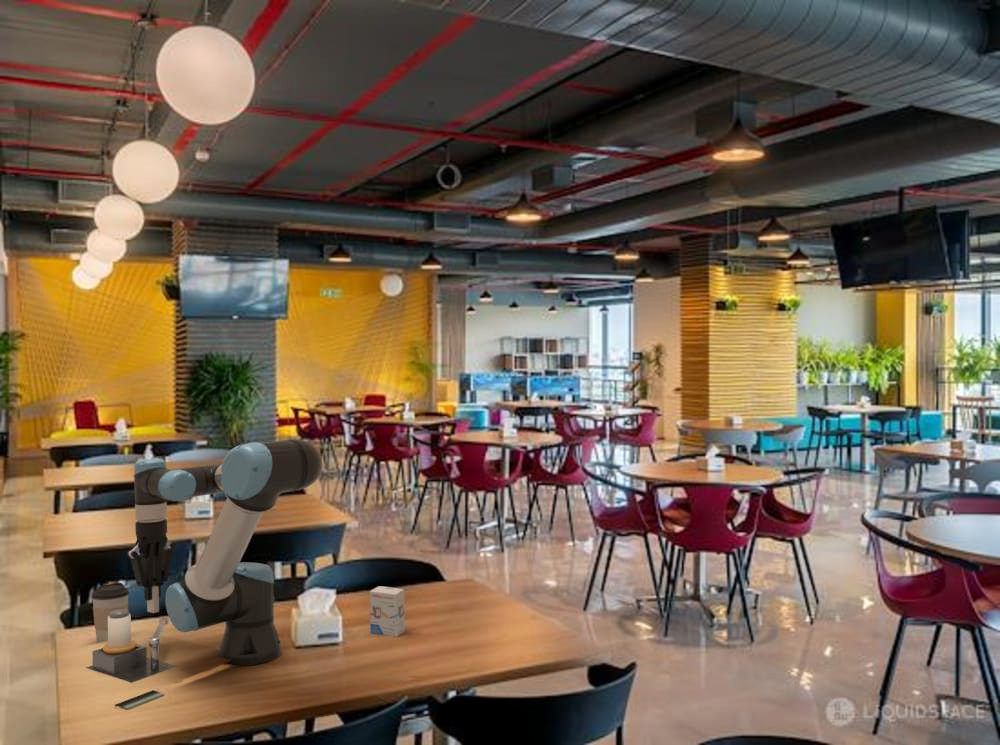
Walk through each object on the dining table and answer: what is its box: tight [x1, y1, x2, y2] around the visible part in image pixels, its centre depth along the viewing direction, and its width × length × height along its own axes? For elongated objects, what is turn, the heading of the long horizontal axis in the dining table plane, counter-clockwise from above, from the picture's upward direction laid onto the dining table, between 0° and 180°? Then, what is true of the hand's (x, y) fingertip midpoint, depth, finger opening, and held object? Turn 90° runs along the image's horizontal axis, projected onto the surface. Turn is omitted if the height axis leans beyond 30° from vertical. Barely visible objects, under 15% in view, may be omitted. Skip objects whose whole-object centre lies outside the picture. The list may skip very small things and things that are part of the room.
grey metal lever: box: [148, 617, 170, 647], centre depth 207 cm, size 18×2×2 cm, turn 14°
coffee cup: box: [91, 581, 130, 644], centre depth 223 cm, size 9×9×15 cm
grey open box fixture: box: [85, 643, 178, 684], centre depth 200 cm, size 18×12×7 cm, turn 58°
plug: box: [102, 609, 137, 656], centre depth 201 cm, size 7×7×13 cm
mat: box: [114, 689, 165, 710], centre depth 185 cm, size 9×9×1 cm
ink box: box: [369, 585, 406, 637], centre depth 229 cm, size 9×5×12 cm, turn 68°
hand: (153, 611), depth 215 cm, fingers closed
